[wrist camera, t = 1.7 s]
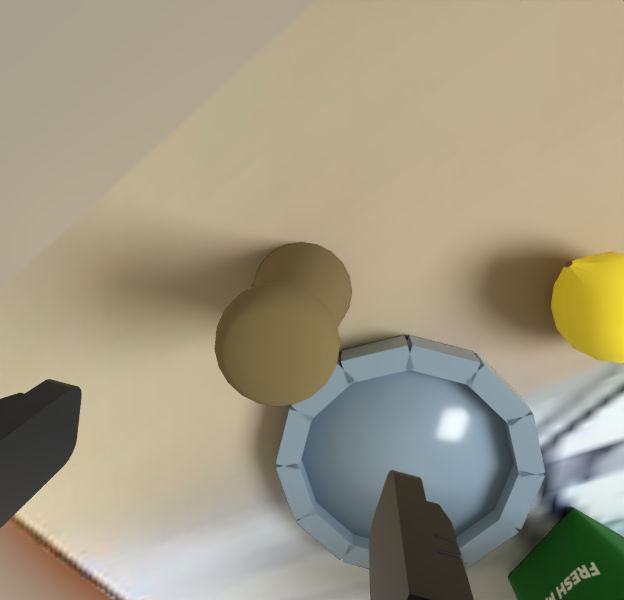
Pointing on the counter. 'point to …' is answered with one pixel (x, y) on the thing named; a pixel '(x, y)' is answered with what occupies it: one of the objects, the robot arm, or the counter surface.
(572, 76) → the counter surface
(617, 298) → the lemon
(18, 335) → the counter surface
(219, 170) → the counter surface
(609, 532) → the milk carton
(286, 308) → the tan pawn shape
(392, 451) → the round dish
